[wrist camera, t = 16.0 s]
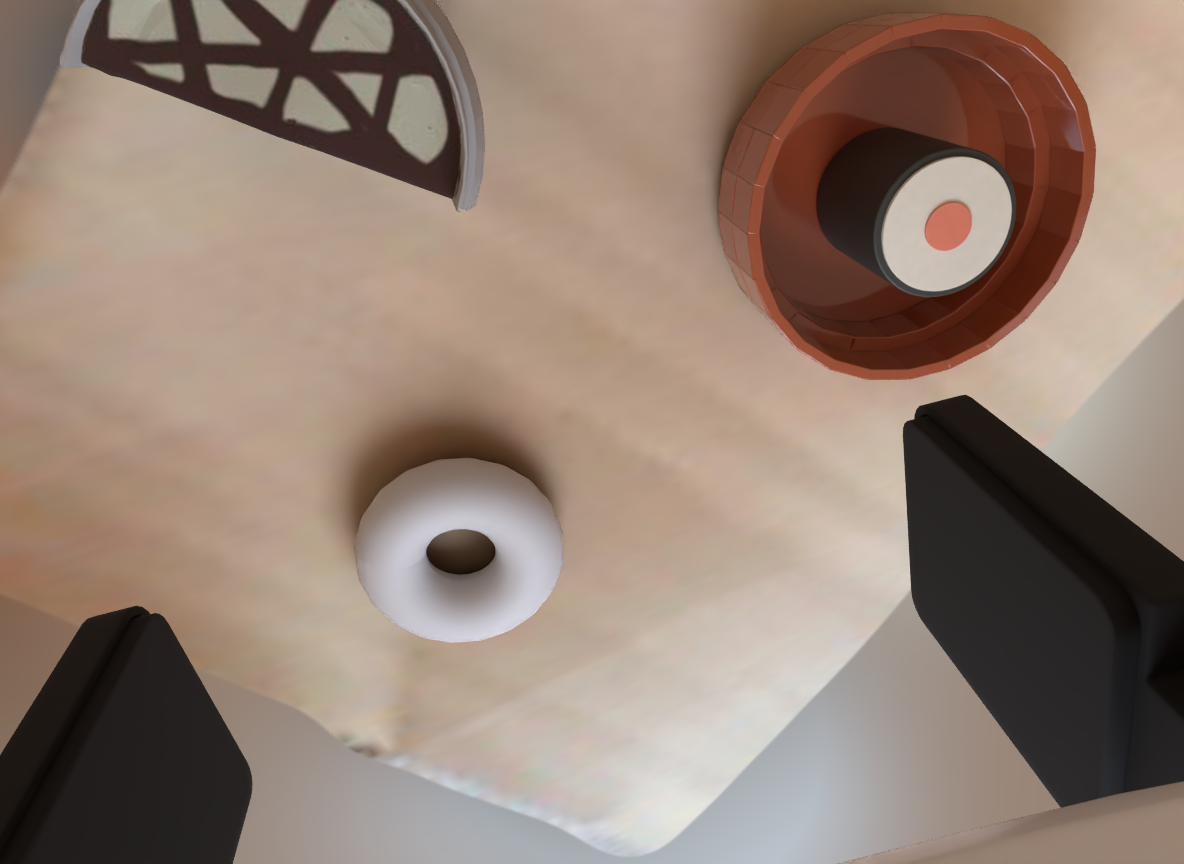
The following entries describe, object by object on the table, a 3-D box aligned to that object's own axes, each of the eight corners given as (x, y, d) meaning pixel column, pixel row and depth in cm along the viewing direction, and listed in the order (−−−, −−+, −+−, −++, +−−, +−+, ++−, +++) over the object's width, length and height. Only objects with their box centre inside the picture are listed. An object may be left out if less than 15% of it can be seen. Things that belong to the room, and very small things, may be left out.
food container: (524, 11, 33) (545, 12, 24) (473, 165, 35) (475, 218, 27) (189, -136, 30) (71, -198, 21) (157, 45, 32) (37, 59, 23)
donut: (575, 590, 46) (541, 425, 41) (583, 633, 43) (547, 461, 38) (388, 629, 45) (332, 467, 41) (383, 675, 42) (321, 506, 37)
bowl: (691, 59, 35) (725, 66, 30) (1025, -23, 35) (1106, -27, 31) (737, 371, 41) (770, 414, 37) (1019, 300, 41) (1086, 335, 37)
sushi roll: (809, 144, 36) (871, 169, 31) (937, 113, 36) (1022, 131, 31) (821, 271, 39) (880, 315, 33) (941, 241, 39) (1020, 280, 33)
